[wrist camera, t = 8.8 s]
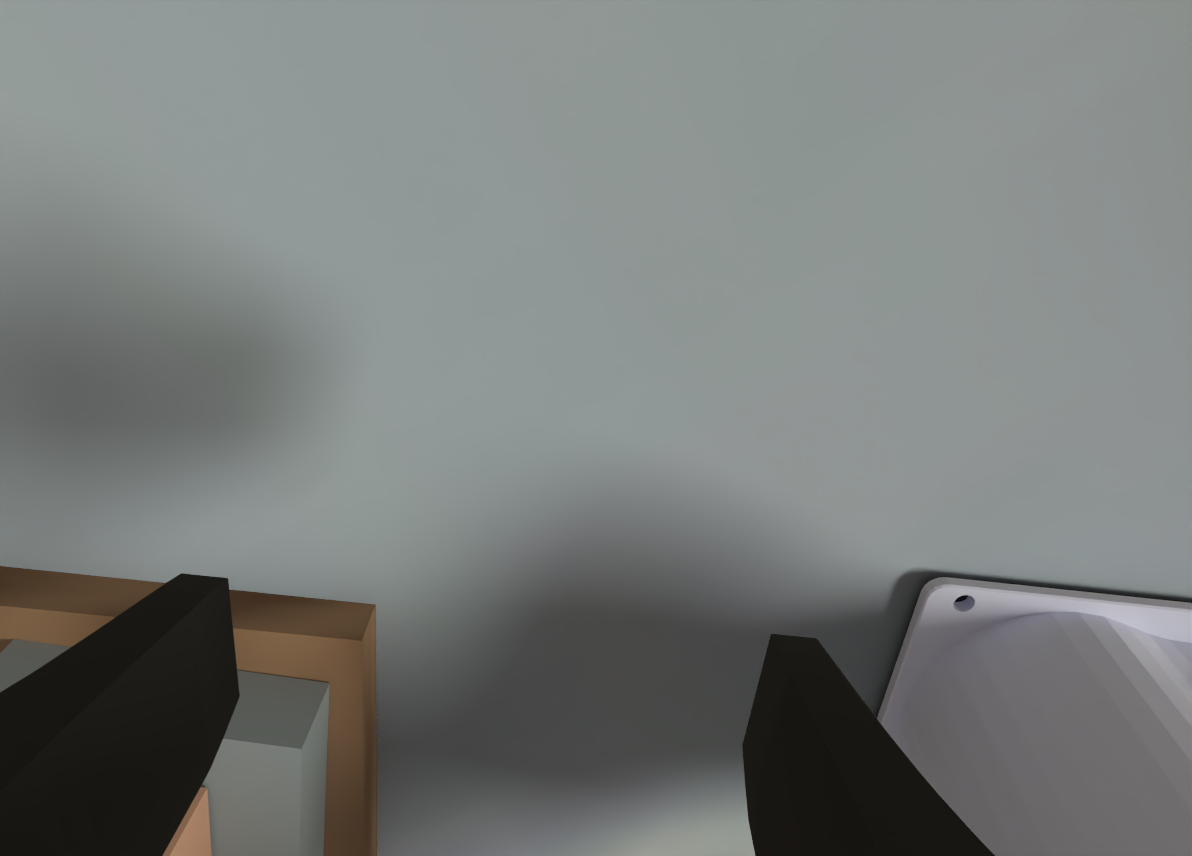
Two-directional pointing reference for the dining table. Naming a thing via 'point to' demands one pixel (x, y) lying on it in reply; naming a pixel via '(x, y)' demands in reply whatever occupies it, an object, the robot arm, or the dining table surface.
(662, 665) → the dining table surface
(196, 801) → the terracotta block
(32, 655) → the slate top slab
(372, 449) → the dining table surface
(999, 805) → the robot arm
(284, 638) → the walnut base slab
